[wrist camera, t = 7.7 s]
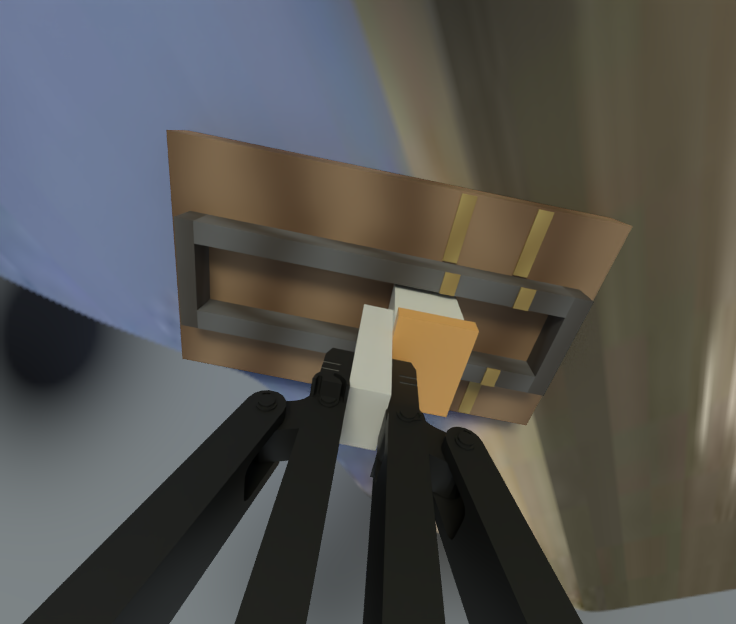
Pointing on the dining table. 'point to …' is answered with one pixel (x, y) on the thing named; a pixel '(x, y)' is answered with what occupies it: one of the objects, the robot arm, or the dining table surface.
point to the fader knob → (431, 343)
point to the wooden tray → (373, 265)
